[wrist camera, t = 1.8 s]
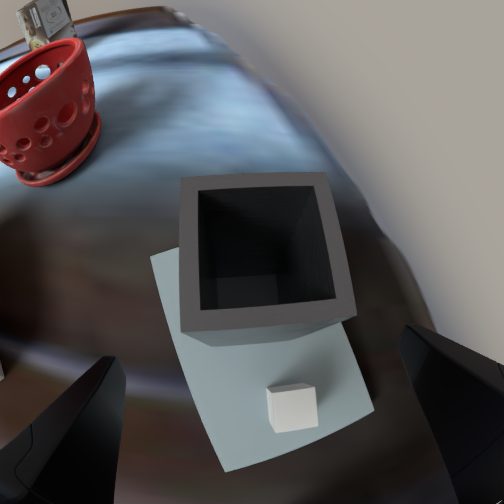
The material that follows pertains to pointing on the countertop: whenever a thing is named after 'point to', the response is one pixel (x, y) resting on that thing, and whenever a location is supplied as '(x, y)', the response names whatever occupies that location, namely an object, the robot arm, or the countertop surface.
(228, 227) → the steel sleeve
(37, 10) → the coffee box
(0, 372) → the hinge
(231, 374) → the base plate
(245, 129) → the countertop surface
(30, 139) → the plant pot
